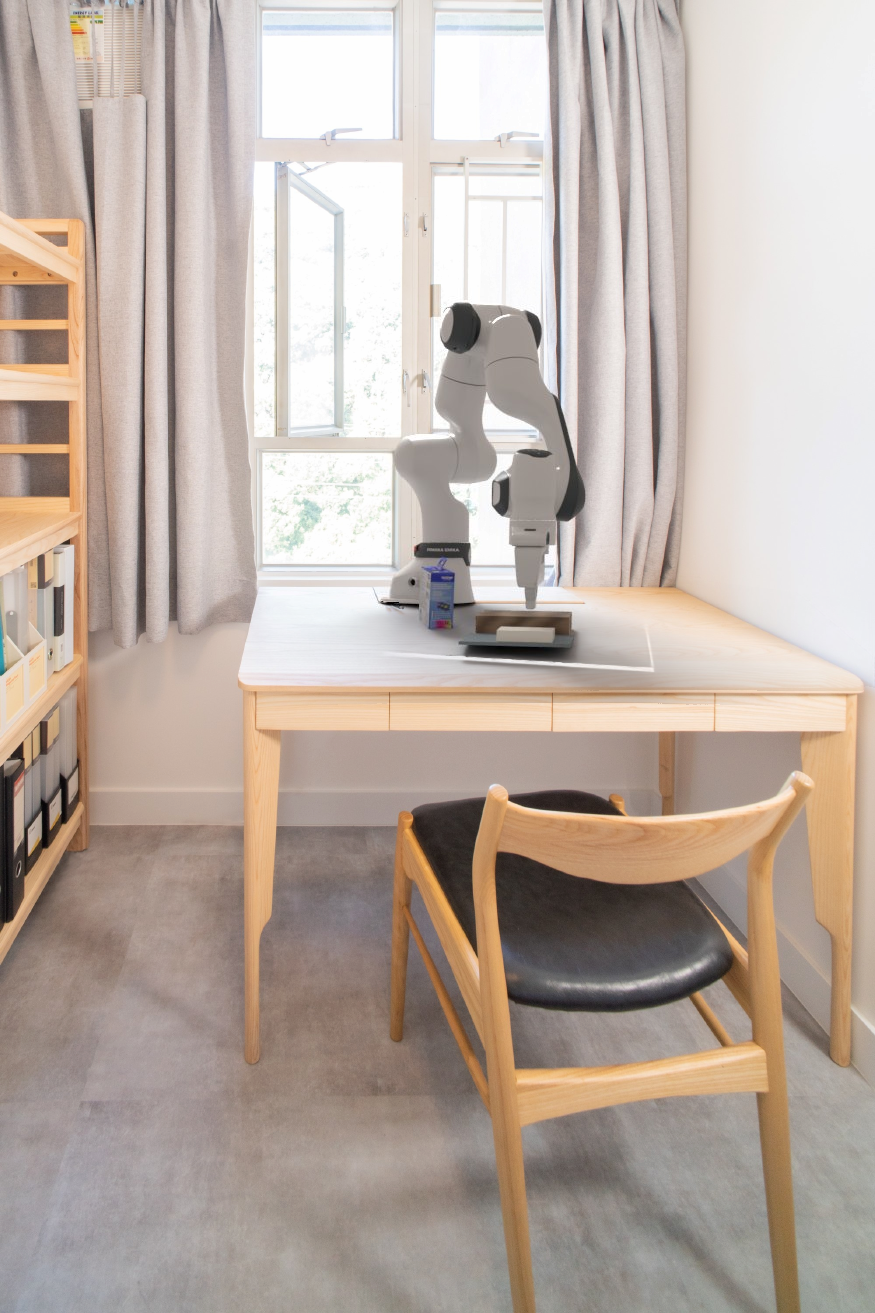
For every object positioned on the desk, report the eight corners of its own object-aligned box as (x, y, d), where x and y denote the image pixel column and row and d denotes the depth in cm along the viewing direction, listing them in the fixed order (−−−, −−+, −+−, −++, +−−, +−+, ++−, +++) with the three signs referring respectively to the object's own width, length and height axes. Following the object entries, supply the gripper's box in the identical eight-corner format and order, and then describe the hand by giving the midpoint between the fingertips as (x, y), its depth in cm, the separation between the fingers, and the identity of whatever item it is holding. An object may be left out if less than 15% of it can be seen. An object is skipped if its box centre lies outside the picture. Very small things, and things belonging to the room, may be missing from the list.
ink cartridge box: (454, 631, 194) (456, 561, 190) (428, 632, 192) (429, 561, 189) (443, 622, 203) (444, 554, 200) (417, 622, 202) (419, 554, 198)
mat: (458, 644, 170) (458, 641, 170) (470, 635, 184) (470, 632, 184) (570, 647, 166) (570, 644, 166) (573, 638, 181) (574, 635, 181)
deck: (475, 636, 184) (475, 615, 184) (484, 628, 198) (484, 609, 197) (568, 638, 181) (569, 617, 181) (571, 631, 195) (571, 611, 194)
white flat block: (500, 626, 177) (500, 637, 177) (496, 630, 170) (496, 641, 170) (554, 627, 175) (554, 638, 175) (552, 631, 168) (552, 642, 168)
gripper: (520, 535, 190) (519, 604, 192) (510, 536, 170) (508, 613, 172) (552, 535, 189) (550, 604, 190) (545, 536, 169) (543, 614, 170)
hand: (530, 608), depth 181 cm, fingers closed
